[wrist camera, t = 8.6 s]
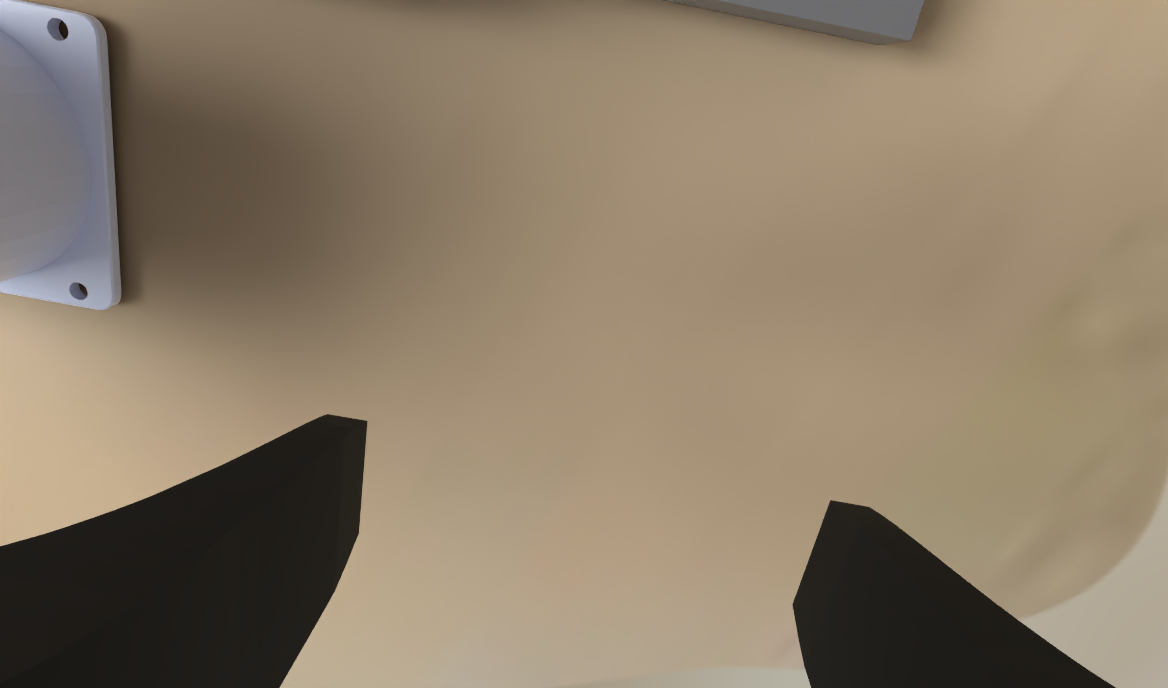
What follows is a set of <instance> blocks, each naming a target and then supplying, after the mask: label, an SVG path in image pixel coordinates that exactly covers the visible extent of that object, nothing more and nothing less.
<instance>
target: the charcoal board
mask: <svg viewBox="0 0 1168 688" xmlns="http://www.w3.org/2000/svg"><path fill="white" fill-rule="evenodd" d="M665 1H670V2H675V3H680V4H685V5H690V6H694V7H699V8H704V9H709V10H714V11H718V12H723V13H728V14H733V15H738V16H743V17H747V18H752V19H757V20H762V21H767V22H771V23H776V24H781V25H786V26H791V27H796V28H800V29H805V30H810V31H815V32H820V33H824V34H829V35H834V36H839V37H844V38H848V39H853V40H858V41H863V42H868V43H873V44H877V45H880V44H888V43H897V42H905V41H911V40H912V36H913V33H914V30H915V27H916V24H917V21H918V18H919V15H920V12H921V9H922V6H923V3H924V0H665Z"/></svg>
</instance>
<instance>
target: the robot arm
mask: <svg viewBox="0 0 1168 688" xmlns="http://www.w3.org/2000/svg"><path fill="white" fill-rule="evenodd" d="M61 21H63V22H64V23H65V24H66V25H67V28H68V31H69V32H68V37H67V38H66V39H64V38H63V37H62V36H61V34H60V32H59V23H60V22H61ZM79 283H80V284H83V285H84V286H85V287H86V289H87V292H88V295H85V294H83V293H82V292H81V290H80V288H79ZM0 292H1V293H6V294H12V295H17V296H23V297H29V298H34V299H40V300H45V301H51V302H56V303H62V304H67V305H73V306H78V307H84V308H90V309H95V310H106V309H108V308H111V307H113V306H115V305H117V304H118V303H119V301H120V300H121V278H120V260H119V242H118V224H117V206H116V188H115V170H114V152H113V134H112V116H111V98H110V80H109V62H108V44H107V35H106V31H105V29H104V27H103V25H102V24H101V22H100V21H99V20H97V19H96V18H95V17H94V16H92V15H89V14H87V13H83V12H78V11H73V10H68V9H63V8H58V7H53V6H48V5H42V4H37V3H32V2H27V1H22V0H0ZM366 431H367V421H364V420H358V419H352V418H346V417H340V416H334V415H329V414H327V415H324V416H322V417H319V418H317V419H315V420H312V421H310V422H308V423H306V424H304V425H302V426H300V427H298V428H296V429H294V430H292V431H290V432H288V433H286V434H284V435H282V436H280V437H278V438H276V439H274V440H272V441H270V442H268V443H266V444H264V445H262V446H260V447H258V448H256V449H254V450H252V451H250V452H248V453H246V454H244V455H242V456H240V457H238V458H236V459H234V460H231V461H229V462H227V463H225V464H223V465H221V466H219V467H217V468H215V469H212V470H210V471H208V472H205V473H203V474H201V475H199V476H196V477H194V478H192V479H189V480H187V481H185V482H183V483H180V484H178V485H176V486H173V487H171V488H169V489H167V490H164V491H162V492H160V493H157V494H155V495H153V496H150V497H148V498H145V499H143V500H140V501H138V502H135V503H133V504H130V505H127V506H125V507H122V508H119V509H117V510H114V511H111V512H109V513H106V514H103V515H100V516H97V517H94V518H91V519H88V520H85V521H83V522H80V523H77V524H74V525H71V526H68V527H65V528H62V529H59V530H56V531H53V532H49V533H46V534H43V535H39V536H36V537H32V538H29V539H25V540H22V541H18V542H15V543H11V544H8V545H4V546H0V688H279V687H280V686H281V684H282V682H283V681H284V679H285V677H286V675H287V674H288V672H289V670H290V668H291V667H292V665H293V663H294V662H295V660H296V658H297V656H298V655H299V653H300V651H301V649H302V648H303V646H304V644H305V643H306V641H307V639H308V637H309V636H310V634H311V632H312V630H313V629H314V627H315V625H316V623H317V622H318V620H319V618H320V616H321V615H322V613H323V611H324V609H325V608H326V606H327V604H328V602H329V600H330V599H331V597H332V595H333V593H334V591H335V589H336V587H337V585H338V582H339V580H340V578H341V575H342V573H343V571H344V568H345V566H346V564H347V561H348V559H349V556H350V554H351V551H352V549H353V546H354V544H355V541H356V539H357V536H358V534H359V523H360V510H361V497H362V484H363V470H364V457H365V444H366ZM793 610H794V615H795V621H796V626H797V632H798V638H799V642H800V647H801V652H802V657H803V661H804V666H805V669H806V672H807V675H808V679H809V681H810V685H811V688H1115V687H1114V686H1112V685H1111V684H1109V683H1108V682H1106V681H1104V680H1103V679H1101V678H1100V677H1098V676H1096V675H1095V674H1094V673H1092V672H1090V671H1089V670H1087V669H1086V668H1085V667H1083V666H1082V665H1080V664H1079V663H1077V662H1076V661H1074V660H1073V659H1071V658H1070V657H1068V656H1067V655H1066V654H1064V653H1063V652H1061V651H1060V650H1058V649H1057V648H1056V647H1054V646H1053V645H1052V644H1050V643H1049V642H1047V641H1046V640H1045V639H1043V638H1042V637H1040V636H1039V635H1038V634H1036V633H1035V632H1034V631H1032V630H1031V629H1029V628H1028V627H1027V626H1025V625H1024V624H1022V623H1021V622H1020V621H1018V620H1017V619H1016V618H1014V617H1013V616H1012V615H1010V614H1009V613H1008V612H1006V611H1005V610H1004V609H1002V608H1001V607H1000V606H998V605H997V604H996V603H994V602H993V601H992V600H991V599H989V598H988V597H987V596H985V595H984V594H983V593H981V592H980V591H979V590H978V589H976V588H975V587H974V586H973V585H971V584H970V583H969V582H967V581H966V580H965V579H964V578H962V577H961V576H960V575H959V574H957V573H956V572H955V571H953V570H952V569H951V568H950V567H948V566H947V565H946V564H945V563H943V562H942V561H941V560H940V559H938V558H937V557H936V556H935V555H933V554H932V553H931V552H930V551H928V550H927V549H926V548H924V547H923V546H922V545H921V544H919V543H918V542H917V541H916V540H914V539H913V538H912V537H910V536H909V535H908V534H907V533H905V532H904V531H903V530H901V529H900V528H899V527H897V526H896V525H895V524H893V523H892V522H891V521H889V520H888V519H886V518H885V517H884V516H882V515H881V514H879V513H878V512H876V511H874V510H873V509H871V508H870V507H866V506H860V505H854V504H848V503H843V502H837V501H831V500H830V503H829V506H828V509H827V511H826V514H825V517H824V520H823V522H822V525H821V528H820V531H819V533H818V536H817V539H816V542H815V544H814V547H813V550H812V553H811V555H810V558H809V561H808V564H807V566H806V569H805V572H804V575H803V577H802V580H801V583H800V586H799V588H798V591H797V594H796V597H795V599H794V602H793Z"/></svg>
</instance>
